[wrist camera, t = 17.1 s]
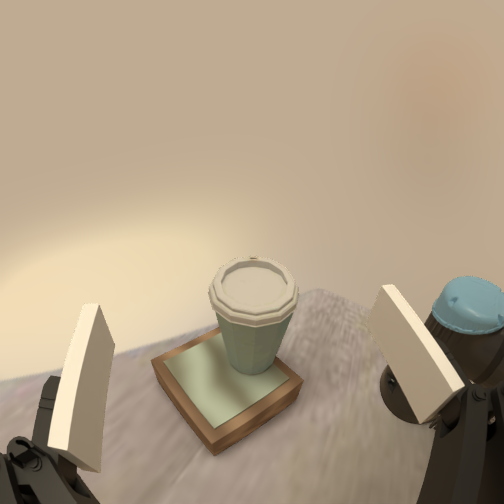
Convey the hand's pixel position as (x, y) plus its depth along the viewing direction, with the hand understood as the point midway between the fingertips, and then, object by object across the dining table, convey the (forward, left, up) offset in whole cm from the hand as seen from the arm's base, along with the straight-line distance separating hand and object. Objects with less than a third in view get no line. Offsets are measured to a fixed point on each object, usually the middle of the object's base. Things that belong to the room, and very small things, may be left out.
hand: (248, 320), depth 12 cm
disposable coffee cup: (-12, -12, -26) cm, 31 cm away
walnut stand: (-7, -12, -32) cm, 35 cm away
